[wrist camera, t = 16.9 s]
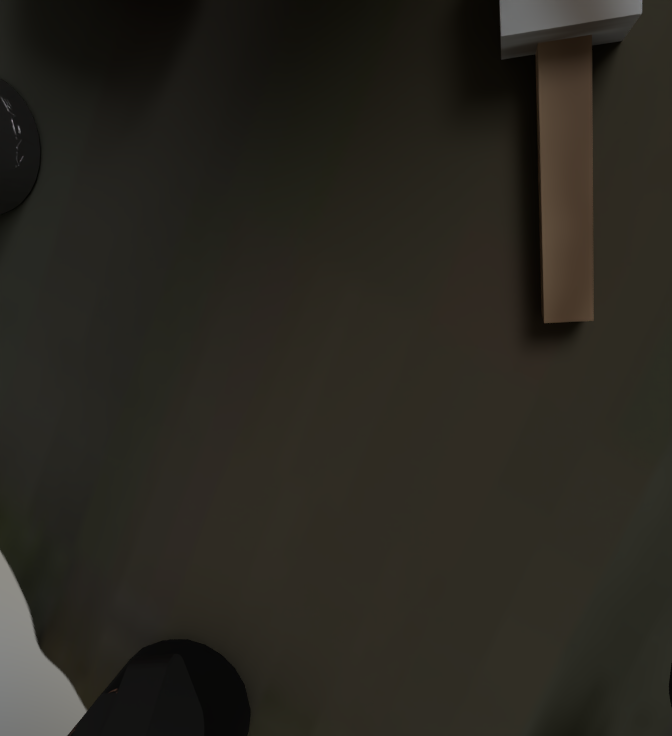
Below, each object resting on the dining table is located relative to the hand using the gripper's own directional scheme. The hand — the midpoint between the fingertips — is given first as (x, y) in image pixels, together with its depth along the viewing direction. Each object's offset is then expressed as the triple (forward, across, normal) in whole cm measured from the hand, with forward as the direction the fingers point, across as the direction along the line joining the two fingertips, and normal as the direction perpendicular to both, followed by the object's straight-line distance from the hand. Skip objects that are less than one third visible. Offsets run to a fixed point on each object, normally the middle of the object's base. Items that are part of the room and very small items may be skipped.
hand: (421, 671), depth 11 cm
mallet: (+30, -10, -2) cm, 31 cm away
